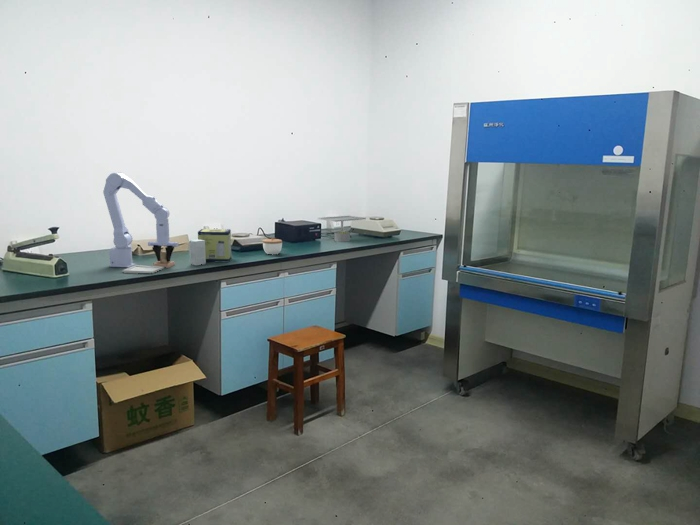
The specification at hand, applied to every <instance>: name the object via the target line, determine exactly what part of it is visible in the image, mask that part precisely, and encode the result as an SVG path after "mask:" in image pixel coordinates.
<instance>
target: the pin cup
mask: <svg viewBox="0 0 700 525" xmlns="http://www.w3.org/2000/svg"><path fill="white" fill-rule="evenodd" d="M175 263H176V262H175V261H174V260H170V261H169V262H167V264H161V261H158V260H157V261H155V262H154V263H153V264H152V266H162V267H166V269H169V268H171V267H173V266H175Z"/></svg>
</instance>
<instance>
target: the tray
mask: <svg viewBox="0 0 700 525" xmlns="http://www.w3.org/2000/svg"><path fill="white" fill-rule="evenodd" d="M162 269H163V270H164V267H162V266H153V265H141V264H139V265H138V264H136V265H133V266H131V267H126V268H125V269H122V270H121V271H122V273H123V272H124V273H123V274H138V273H154V272H156V273H158V272H160V271H159V270H161V271H163V270H162ZM157 271H158V272H157ZM154 274H155V273H154Z"/></svg>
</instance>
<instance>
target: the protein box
mask: <svg viewBox="0 0 700 525" xmlns="http://www.w3.org/2000/svg"><path fill="white" fill-rule="evenodd" d="M231 234H232V232H231V229H230V228H227V229H226V228H225V229H224V228H223V229H222V228H220V229H218V228H217V229H214V228H213V229H212V228H210V229H209V228H200V230H198V231H197V240H205V255H206V263H210V261H211V263H216V262H215V261H229V260H230V261H231V259H232V236H231ZM230 261H229V262H230Z"/></svg>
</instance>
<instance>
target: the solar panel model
mask: <svg viewBox="0 0 700 525" xmlns="http://www.w3.org/2000/svg"><path fill="white" fill-rule="evenodd" d="M317 220H319V221H328V222H334V223H335V222H336V223H337V222H338V223H339V222H340V231H334V242H337V241H338V243H343V242H350V241H351V232H350V231H344V222H349V221H361V220H367V217H362V216H354V215H339V216H327V217H325V216H324V217H317Z"/></svg>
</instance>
